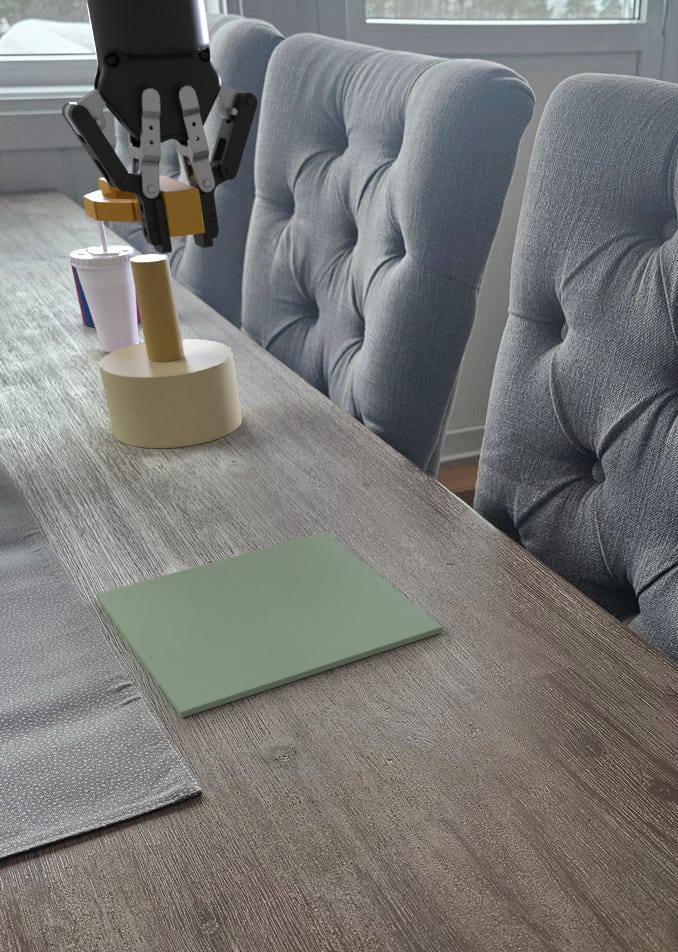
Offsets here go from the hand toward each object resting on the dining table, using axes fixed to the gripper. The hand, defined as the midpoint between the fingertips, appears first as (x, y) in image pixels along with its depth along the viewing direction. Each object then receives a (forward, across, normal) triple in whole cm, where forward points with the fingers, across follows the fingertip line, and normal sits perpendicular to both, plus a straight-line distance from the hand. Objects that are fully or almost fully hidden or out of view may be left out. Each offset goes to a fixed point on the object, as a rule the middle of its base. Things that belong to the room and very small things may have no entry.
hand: (183, 247), depth 82 cm
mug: (+17, -6, -49) cm, 53 cm away
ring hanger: (-1, 0, -7) cm, 7 cm away
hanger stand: (+16, 0, -9) cm, 19 cm away
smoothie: (+17, -3, -36) cm, 40 cm away
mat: (+16, +7, +27) cm, 32 cm away
